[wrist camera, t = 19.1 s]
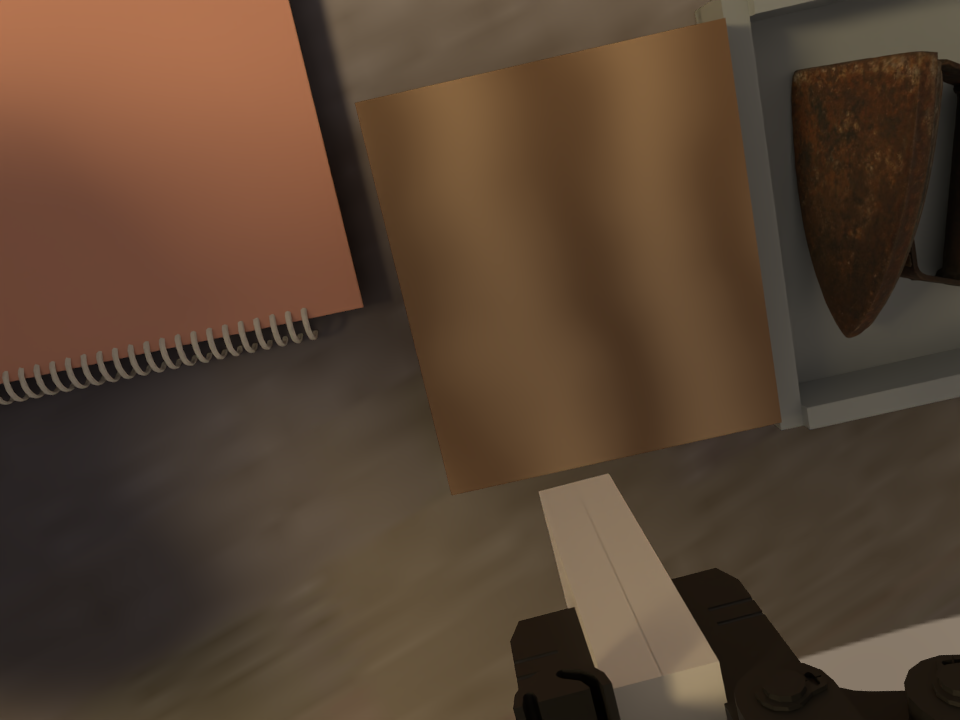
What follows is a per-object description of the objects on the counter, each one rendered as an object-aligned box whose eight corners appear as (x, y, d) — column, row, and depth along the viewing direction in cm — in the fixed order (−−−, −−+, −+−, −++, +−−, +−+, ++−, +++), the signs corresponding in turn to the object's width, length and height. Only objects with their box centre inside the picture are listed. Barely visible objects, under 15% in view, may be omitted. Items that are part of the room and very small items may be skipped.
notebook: (-196, 443, 38) (-230, 458, 36) (-355, 70, 34) (-403, 65, 32) (372, 323, 38) (368, 331, 36) (277, -68, 34) (267, -82, 32)
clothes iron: (781, 51, 34) (950, 91, 38) (731, 317, 36) (895, 329, 40) (926, 27, 28) (1111, 78, 32) (855, 352, 30) (1035, 362, 34)
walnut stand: (451, 454, 39) (451, 495, 34) (368, 111, 35) (354, 102, 30) (740, 390, 39) (781, 422, 34) (687, 38, 35) (725, 17, 30)
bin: (753, 407, 39) (786, 434, 35) (694, 11, 35) (725, -9, 31) (1075, 336, 39) (1145, 355, 35) (1055, -72, 34) (1133, -102, 31)
